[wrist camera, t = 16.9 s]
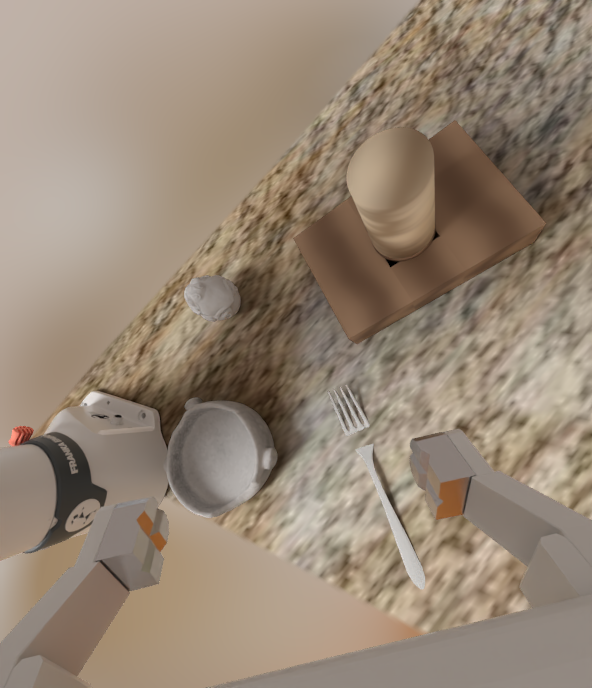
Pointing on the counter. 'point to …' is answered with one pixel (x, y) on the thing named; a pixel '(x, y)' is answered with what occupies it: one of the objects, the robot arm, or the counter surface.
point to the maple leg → (395, 191)
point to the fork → (381, 491)
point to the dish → (218, 456)
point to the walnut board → (442, 254)
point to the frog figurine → (213, 297)
